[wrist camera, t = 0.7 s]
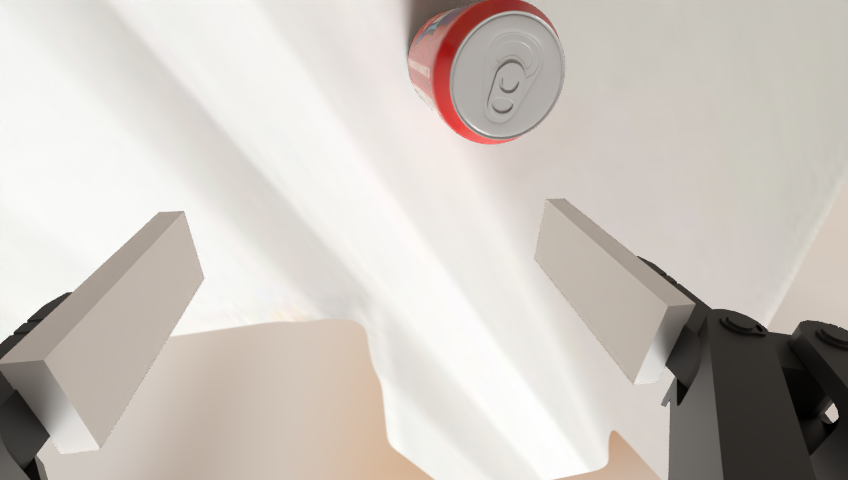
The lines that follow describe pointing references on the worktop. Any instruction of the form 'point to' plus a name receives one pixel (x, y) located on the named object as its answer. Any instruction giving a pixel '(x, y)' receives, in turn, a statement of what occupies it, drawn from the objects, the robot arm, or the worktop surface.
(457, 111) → the soda can
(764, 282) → the worktop surface
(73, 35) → the worktop surface
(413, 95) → the worktop surface
